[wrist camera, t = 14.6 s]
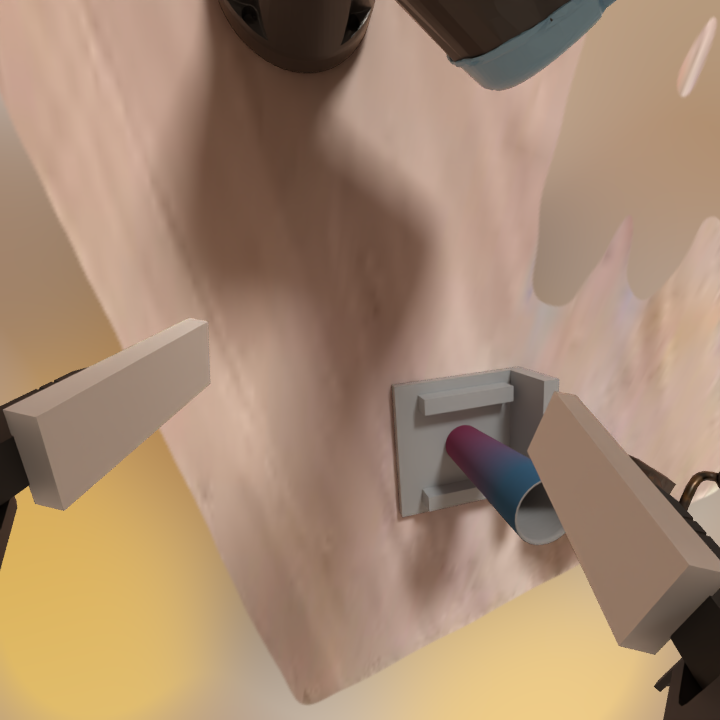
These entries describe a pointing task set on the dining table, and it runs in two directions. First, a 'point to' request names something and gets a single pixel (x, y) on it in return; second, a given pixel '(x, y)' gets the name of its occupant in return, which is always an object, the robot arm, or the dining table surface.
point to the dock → (455, 408)
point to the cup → (506, 483)
